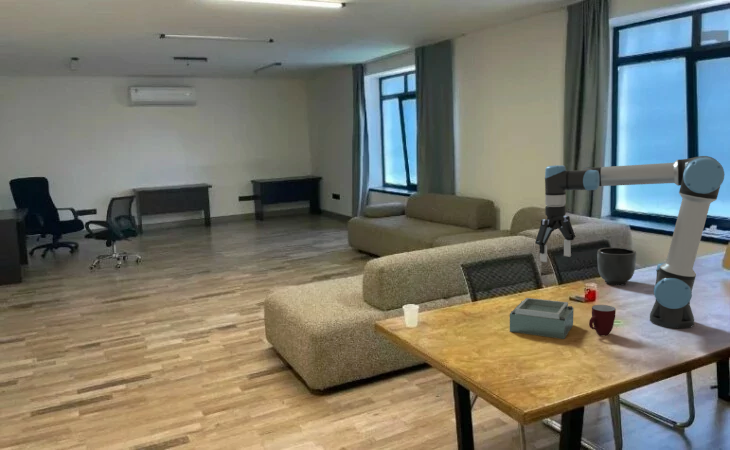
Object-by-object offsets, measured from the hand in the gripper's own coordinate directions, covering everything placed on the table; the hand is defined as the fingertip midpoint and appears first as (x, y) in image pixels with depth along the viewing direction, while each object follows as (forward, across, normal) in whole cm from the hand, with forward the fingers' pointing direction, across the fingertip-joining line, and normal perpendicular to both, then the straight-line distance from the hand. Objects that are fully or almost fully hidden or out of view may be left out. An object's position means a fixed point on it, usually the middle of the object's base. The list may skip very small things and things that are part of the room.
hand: (555, 258), depth 224 cm
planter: (+25, -65, -19) cm, 72 cm away
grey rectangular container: (+25, +12, +4) cm, 28 cm away
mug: (+25, +1, +21) cm, 33 cm away
